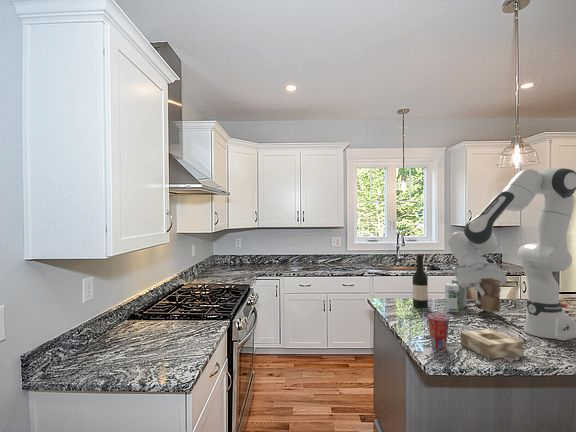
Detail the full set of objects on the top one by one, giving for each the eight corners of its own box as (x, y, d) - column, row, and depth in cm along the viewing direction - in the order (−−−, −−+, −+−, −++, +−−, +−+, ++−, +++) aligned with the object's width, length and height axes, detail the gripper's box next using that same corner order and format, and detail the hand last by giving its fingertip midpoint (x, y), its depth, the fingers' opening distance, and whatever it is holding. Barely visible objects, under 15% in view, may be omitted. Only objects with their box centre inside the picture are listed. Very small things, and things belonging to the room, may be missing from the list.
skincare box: (454, 304, 206) (454, 277, 206) (467, 306, 202) (467, 278, 202) (450, 307, 200) (450, 279, 200) (464, 309, 195) (463, 280, 195)
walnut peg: (490, 308, 140) (490, 278, 140) (499, 311, 136) (499, 280, 136) (480, 309, 139) (480, 278, 139) (489, 312, 135) (489, 280, 135)
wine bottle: (423, 308, 198) (422, 255, 198) (409, 305, 204) (409, 253, 204) (431, 306, 203) (430, 253, 203) (417, 303, 209) (417, 252, 210)
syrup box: (448, 311, 191) (447, 285, 191) (445, 309, 197) (444, 282, 197) (459, 312, 190) (459, 285, 190) (456, 309, 196) (455, 283, 196)
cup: (453, 346, 141) (452, 316, 141) (446, 352, 135) (445, 321, 135) (429, 340, 147) (429, 312, 147) (421, 346, 141) (421, 316, 141)
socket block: (492, 341, 146) (492, 329, 146) (523, 355, 131) (523, 341, 131) (460, 344, 143) (460, 331, 143) (488, 358, 128) (488, 344, 128)
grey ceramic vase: (477, 317, 180) (476, 282, 180) (472, 311, 191) (472, 278, 191) (504, 319, 176) (503, 283, 176) (497, 312, 188) (497, 279, 188)
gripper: (454, 261, 142) (471, 290, 132) (498, 260, 146) (518, 288, 137) (447, 271, 146) (463, 300, 137) (489, 269, 150) (508, 297, 141)
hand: (491, 294), depth 137 cm, fingers closed on walnut peg, 4 cm apart
